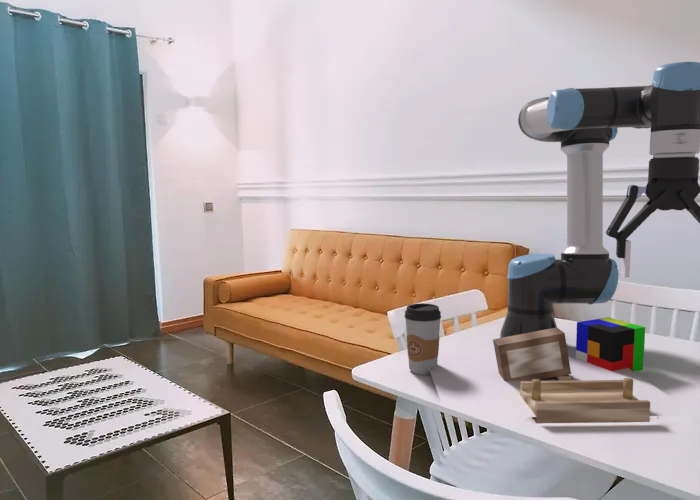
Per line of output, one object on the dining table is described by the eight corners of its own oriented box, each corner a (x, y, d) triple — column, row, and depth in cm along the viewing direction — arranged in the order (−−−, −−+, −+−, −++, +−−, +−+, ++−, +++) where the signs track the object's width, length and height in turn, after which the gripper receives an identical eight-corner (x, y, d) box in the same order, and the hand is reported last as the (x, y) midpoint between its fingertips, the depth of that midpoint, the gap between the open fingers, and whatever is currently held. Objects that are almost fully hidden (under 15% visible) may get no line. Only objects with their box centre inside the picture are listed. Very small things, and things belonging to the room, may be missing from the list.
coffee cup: (397, 371, 124) (396, 307, 122) (418, 362, 130) (418, 301, 128) (427, 379, 119) (427, 313, 117) (448, 369, 125) (448, 306, 123)
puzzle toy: (575, 363, 127) (576, 322, 126) (606, 357, 131) (608, 317, 130) (611, 377, 118) (612, 332, 117) (643, 370, 122) (645, 327, 121)
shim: (549, 376, 119) (549, 367, 119) (560, 376, 119) (560, 367, 119) (559, 386, 113) (559, 377, 113) (571, 386, 113) (571, 377, 113)
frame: (505, 386, 114) (498, 345, 113) (499, 378, 118) (492, 339, 117) (571, 373, 113) (564, 333, 112) (563, 366, 118) (556, 327, 117)
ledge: (519, 400, 106) (520, 371, 105) (622, 399, 106) (623, 370, 105) (536, 423, 96) (537, 391, 96) (649, 421, 96) (651, 389, 95)
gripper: (600, 158, 93) (595, 279, 96) (768, 153, 86) (757, 282, 89) (592, 159, 100) (587, 271, 103) (747, 154, 94) (737, 274, 97)
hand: (666, 277), depth 96 cm, fingers open, 13 cm apart
